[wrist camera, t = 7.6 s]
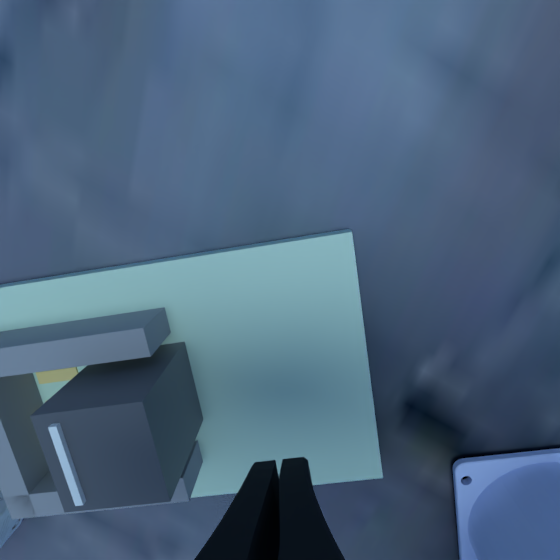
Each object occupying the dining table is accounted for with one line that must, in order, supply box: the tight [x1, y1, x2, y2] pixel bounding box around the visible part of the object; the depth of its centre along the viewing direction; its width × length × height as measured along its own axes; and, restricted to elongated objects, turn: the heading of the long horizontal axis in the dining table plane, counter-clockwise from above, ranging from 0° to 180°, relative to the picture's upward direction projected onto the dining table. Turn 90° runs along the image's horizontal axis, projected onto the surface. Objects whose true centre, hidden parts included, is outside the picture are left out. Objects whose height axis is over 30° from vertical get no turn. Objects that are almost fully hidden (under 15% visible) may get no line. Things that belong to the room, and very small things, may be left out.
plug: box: [30, 342, 204, 513], centre depth 16 cm, size 4×4×5 cm
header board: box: [0, 229, 383, 519], centre depth 18 cm, size 12×17×4 cm
